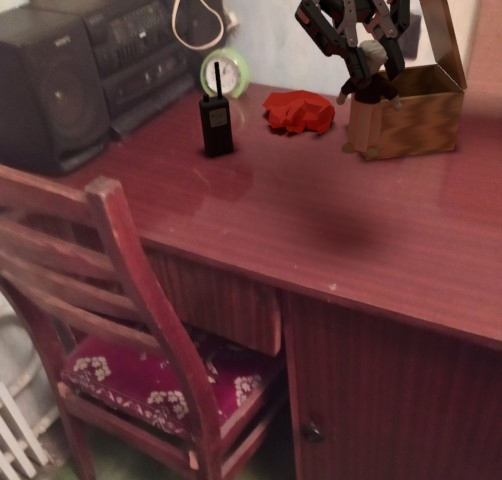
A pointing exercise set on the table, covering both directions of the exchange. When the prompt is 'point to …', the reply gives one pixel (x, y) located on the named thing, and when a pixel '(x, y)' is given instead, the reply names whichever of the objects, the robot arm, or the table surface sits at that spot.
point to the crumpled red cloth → (299, 111)
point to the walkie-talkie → (216, 121)
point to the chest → (420, 113)
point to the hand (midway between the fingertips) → (381, 80)
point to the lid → (443, 39)
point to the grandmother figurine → (368, 103)
